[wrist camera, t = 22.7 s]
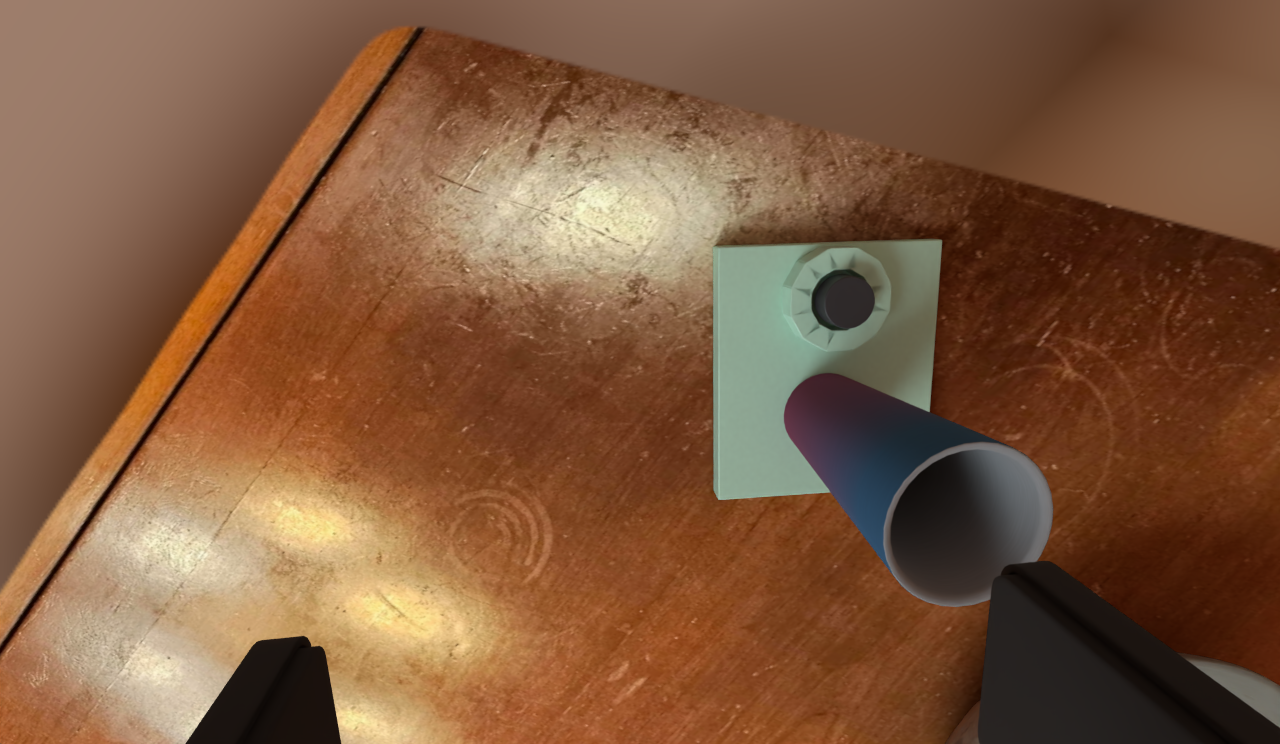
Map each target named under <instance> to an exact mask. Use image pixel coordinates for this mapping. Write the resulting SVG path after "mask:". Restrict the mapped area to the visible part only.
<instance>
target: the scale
mask: <svg viewBox="0 0 1280 744" xmlns="http://www.w3.org/2000/svg"><path fill="white" fill-rule="evenodd" d="M941 251H942V240H940V239H906V240H875V241H845V242H814V243H783V244H753V245H722V246H714V247H713V386H714V492H715V494H716V496H717V498H718V500H725V499H739V498H754V497H768V496H783V495H797V494H812V493H826V492H830V491H829V489H828V488H827V487H826V485H825V484H824V483H823V481H822V480H821V479H820V477H819V476H818V475H817V473H816V472H815V471H814V469H813V468H812V467H811V465H810V464H809V463H808V461H807V460H806V459H805V457H804V456H803V455H802V453H801V452H800V451H799V449H798V448H797V447H796V446H795V444H794V443H793V442H792V440H791V439H790V438H789V436H788V434H787V432H786V429H785V424H784V411H785V406H786V403H787V401H788V398H789V397H790V395H791V393H792V392H793V391H794V389H795V388H796V387H797V386H798V385H799V384H800V383H802V382H803V381H804V380H806V379H808V378H810V377H812V376H815V375H818V374H823V373H834V374H839V375H842V376H845V377H848V378H850V379H852V380H855V381H857V382H859V383H862V384H864V385H866V386H869V387H871V388H874V389H876V390H878V391H881V392H883V393H885V394H888V395H890V396H892V397H895V398H897V399H900V400H902V401H904V402H907V403H909V404H911V405H914V406H916V407H918V408H921V409H923V410H926V411H928V412H930V401H931V387H932V374H933V360H934V346H935V333H936V319H937V306H938V292H939V278H940V265H941ZM836 274H846V275H851V276H855V277H859V278H862V279H864V280H865V281H866V282H867V283H868V284H869V285H870V286H871V288H872V290H873V292H874V296H875V305H874V309H873V312H872V314H871V315H870V317H869V318H868V319H867V320H866V321H865V322H864V323H863V324H861V325H860V326H858V327H855V328H851V329H844V328H840V327H837V326H835V325H832V324H830V323H828V322H826V321H824V320H823V319H822V318H821V317H820V316H819V314H818V313H817V311H816V307H815V295H816V292H817V290H818V288H819V286H820V285H821V283H822V282H823V281H824V280H826V279H827V278H829V277H830V276H833V275H836Z"/></svg>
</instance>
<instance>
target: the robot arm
mask: <svg viewBox="0 0 1280 744" xmlns="http://www.w3.org/2000/svg"><path fill="white" fill-rule="evenodd" d="M978 739H979V744H1280V728H1279V727H1278V726H1277V725H1275V724H1274V723H1273V722H1271V721H1270V720H1268V719H1267V718H1266V717H1264V716H1263V715H1262V714H1260V713H1259V712H1257V711H1256V710H1255V709H1253V708H1252V707H1251V706H1249V705H1248V704H1246V703H1245V702H1244V701H1242V700H1241V699H1240V698H1238V697H1237V696H1235V695H1234V694H1233V693H1231V692H1230V691H1229V690H1227V689H1226V688H1225V687H1223V686H1222V685H1220V684H1219V683H1218V682H1216V681H1215V680H1214V679H1212V678H1211V677H1209V676H1208V675H1207V674H1205V673H1204V672H1203V671H1201V670H1200V669H1198V668H1197V667H1196V666H1194V665H1193V664H1192V663H1190V662H1189V661H1187V660H1186V659H1185V658H1183V657H1182V656H1181V655H1179V654H1178V653H1176V652H1175V651H1174V650H1172V649H1171V648H1170V647H1168V646H1167V645H1165V644H1164V643H1163V642H1161V641H1160V640H1159V639H1157V638H1156V637H1154V636H1153V635H1152V634H1150V633H1149V632H1148V631H1146V630H1145V629H1143V628H1142V627H1141V626H1139V625H1138V624H1137V623H1135V622H1134V621H1132V620H1131V619H1130V618H1128V617H1127V616H1126V615H1124V614H1123V613H1121V612H1120V611H1119V610H1117V609H1116V608H1115V607H1113V606H1112V605H1110V604H1109V603H1108V602H1106V601H1105V600H1104V599H1102V598H1101V597H1099V596H1098V595H1097V594H1095V593H1094V592H1093V591H1091V590H1090V589H1088V588H1087V587H1086V586H1084V585H1083V584H1082V583H1080V582H1079V581H1078V580H1076V579H1075V578H1073V577H1072V576H1071V575H1069V574H1068V573H1067V572H1065V571H1064V570H1062V569H1061V568H1060V567H1058V566H1057V565H1055V564H1053V563H1052V562H1050V561H1037V562H1028V563H1018V564H1009V565H1007V566H1005V567H1004V569H1003V570H1002V572H1001V575H1000V576H998V577H996V578H995V579H994V580H993V583H992V588H991V598H990V608H989V618H988V629H987V639H986V649H985V659H984V669H983V679H982V690H981V700H980V710H979V720H978ZM186 744H341V740H340V734H339V728H338V723H337V717H336V711H335V705H334V700H333V694H332V688H331V683H330V677H329V671H328V665H327V660H326V655H325V651H324V649H323V648H322V647H321V646H315V647H311V643H310V641H309V640H308V638H307V637H305V636H299V637H290V638H280V639H270V640H261V641H258V642H256V643H255V644H254V645H253V646H252V647H251V649H250V650H249V652H248V653H247V655H246V656H245V658H244V659H243V661H242V662H241V664H240V665H239V666H238V668H237V669H236V671H235V672H234V674H233V675H232V677H231V678H230V680H229V681H228V682H227V684H226V685H225V687H224V688H223V690H222V691H221V693H220V694H219V696H218V697H217V699H216V700H215V701H214V703H213V704H212V706H211V707H210V709H209V710H208V712H207V713H206V715H205V716H204V717H203V719H202V720H201V722H200V723H199V725H198V726H197V728H196V729H195V731H194V732H193V734H192V735H191V736H190V738H189V739H188V741H187V742H186Z"/></svg>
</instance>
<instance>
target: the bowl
mask: <svg viewBox="0 0 1280 744" xmlns="http://www.w3.org/2000/svg"><path fill="white" fill-rule="evenodd" d="M1176 653H1177V652H1176ZM1178 654H1179V655H1181V656H1182V657H1183V658H1185V659H1186V660H1187V661H1189V662H1190V663H1192V664H1193V665H1194V666H1196V667H1197V668H1198V669H1200V670H1201V671H1203V672H1204V673H1205V674H1207V675H1208V676H1209V677H1211V678H1212V679H1214V680H1215V681H1216V682H1218V683H1219V684H1220V685H1222V686H1223V687H1225V688H1226V689H1227V690H1229V691H1230V692H1231V693H1233V694H1234V695H1235V696H1237V697H1238V698H1240V699H1241V700H1242V701H1244V702H1245V703H1246V704H1248V705H1249V706H1251V707H1252V708H1253V709H1255V710H1256V711H1257V712H1259V713H1260V714H1262V715H1263V716H1264V717H1266V718H1267V719H1268V720H1270V721H1271V722H1273V723H1274V724H1275V725H1277V726H1278V727H1279V728H1280V686H1279V685H1278V684H1276V683H1275V682H1273V681H1271V680H1270V679H1268V678H1266V677H1264V676H1262V675H1260V674H1258V673H1256V672H1254V671H1251V670H1249V669H1247V668H1244V667H1241V666H1239V665H1236V664H1232V663H1229V662H1225V661H1221V660H1217V659H1213V658H1208V657H1203V656H1197V655H1191V654H1185V653H1178ZM979 710H980V701H978V702H977V703H976V704H975V705H974V706H973V707H972V709H971V710H970V711H969V712H968V713H967V714H966V715H965V717H964V718H963V719H962V721H961V722H960V723H959V725H958V726H957V727H956V728H955V730H954V731H953V732H952V734H951V735H950V736H949V738H948V739H947V741H946V742H945V744H979V739H978V720H979Z"/></svg>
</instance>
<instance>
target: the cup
mask: <svg viewBox="0 0 1280 744" xmlns="http://www.w3.org/2000/svg"><path fill="white" fill-rule="evenodd" d="M784 424H785V429H786V432H787V434H788V436H789V438H790V439H791V440H792V442H793V443H794V444H795V446H796V447H797V448H798V449H799V451H800V452H801V453H802V455H803V456H804V457H805V459H806V460H807V461H808V463H809V464H810V465H811V467H812V468H813V469H814V471H815V472H816V473H817V475H818V476H819V477H820V479H821V480H822V481H823V483H824V484H825V485H826V487H827V488H828V489H829V491H830V492H831V493H832V495H833V496H834V497H835V499H836V500H837V501H838V503H839V504H840V505H841V507H842V508H843V509H844V511H845V512H846V513H847V515H848V516H849V517H850V519H851V520H852V521H853V522H854V524H855V525H856V526H857V528H858V529H859V530H860V532H861V533H862V534H863V536H864V537H865V538H866V540H867V541H868V542H869V544H870V545H871V546H872V548H873V549H874V550H875V552H876V553H877V554H878V556H879V557H880V558H881V560H882V561H883V562H884V564H885V565H886V566H887V568H888V569H889V570H890V572H891V573H892V574H893V576H894V577H895V578H896V579H897V581H898V582H899V583H900V585H901V586H902V587H904V588H905V589H906V590H907V591H908V592H910V593H911V594H912V595H914V596H916V597H918V598H920V599H922V600H924V601H926V602H929V603H933V604H937V605H940V606H954V607H959V606H967V605H974V604H977V603H980V602H984V601H987V600H990V598H991V588H992V583H993V580H994V579H995V578H996V577H998V576H1000V575H1001V572H1002V570H1003V569H1004V567H1005V566H1007V565H1009V564H1018V563H1028V562H1036V561H1037V560H1038V558H1039V557H1040V556H1041V554H1042V551H1043V549H1044V547H1045V545H1046V543H1047V541H1048V538H1049V534H1050V530H1051V526H1052V518H1053V503H1052V496H1051V491H1050V489H1049V486H1048V483H1047V480H1046V478H1045V477H1044V475H1043V474H1042V472H1041V471H1040V469H1039V467H1038V466H1037V465H1036V464H1035V463H1034V462H1033V461H1032V460H1031V459H1030V458H1029V457H1028V456H1027V455H1025V454H1023V453H1022V452H1020V451H1018V450H1016V449H1015V448H1013V447H1011V446H1008V445H1006V444H1004V443H1001V442H999V441H996V440H994V439H992V438H989V437H987V436H985V435H982V434H980V433H978V432H975V431H973V430H970V429H968V428H966V427H963V426H961V425H959V424H956V423H954V422H952V421H949V420H947V419H944V418H942V417H940V416H937V415H935V414H933V413H930V412H928V411H926V410H923V409H921V408H918V407H916V406H914V405H911V404H909V403H907V402H904V401H902V400H900V399H897V398H895V397H892V396H890V395H888V394H885V393H883V392H881V391H878V390H876V389H874V388H871V387H869V386H866V385H864V384H862V383H859V382H857V381H855V380H852V379H850V378H848V377H845V376H842V375H839V374H834V373H823V374H818V375H815V376H812V377H810V378H808V379H806V380H804V381H803V382H802V383H800V384H799V385H798V386H797V387H796V388H795V389H794V391H793V392H792V393H791V395H790V397H789V398H788V401H787V403H786V406H785V411H784Z"/></svg>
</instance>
